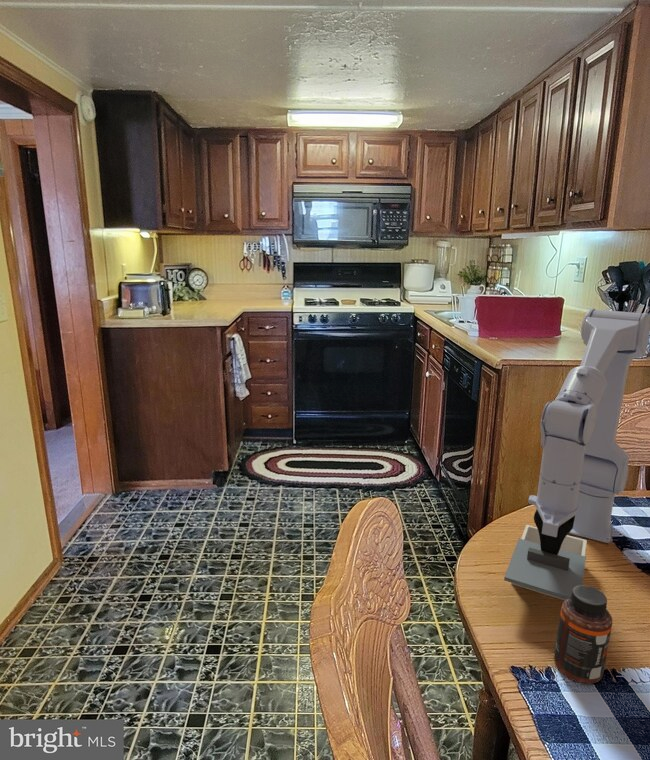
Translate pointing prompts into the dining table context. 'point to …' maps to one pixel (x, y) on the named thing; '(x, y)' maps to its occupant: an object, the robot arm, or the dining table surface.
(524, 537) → the box
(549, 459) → the robot arm
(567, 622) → the supplement bottle
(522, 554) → the lid
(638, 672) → the dining table surface
